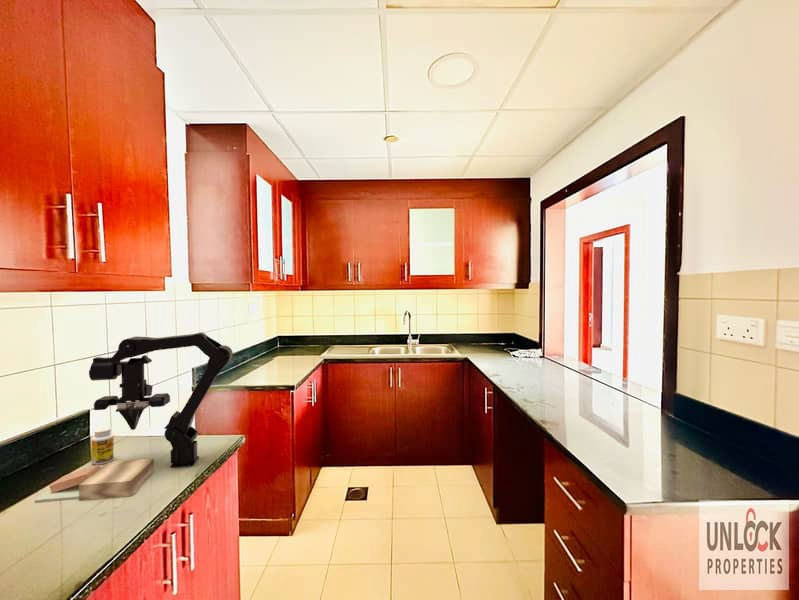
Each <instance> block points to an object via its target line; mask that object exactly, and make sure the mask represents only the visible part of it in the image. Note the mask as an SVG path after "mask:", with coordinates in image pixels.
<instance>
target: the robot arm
mask: <svg viewBox="0 0 799 600" xmlns="http://www.w3.org/2000/svg"><path fill="white" fill-rule="evenodd" d="M188 347H196V348H198V349H199V350H200V351H201V352H202V353H203V354H204V355H206V356H207V357H208V360H207V363H206V367H205V371H204V373H203V375H201V378H200V380H199V382H198V383H197V385H196V386H195V388H194V389H193V391H192V393H191V395H190V396H189V398H188V400H187V402H186V403H185V405H184V407H183V409H181V411H180V412H179V410H176V411H175V412H174V413H173V414H172V415H171V417H169V418H170V419H169V421H168V423H167V424H166V425H165V427H164V430H165V431H164V435H163V436H164V437H165V439H166V440H167V441H168V442H169V443H170V446H171V450H170V464H171V465H170V468H172V469H173V468H183V467H194V465H195V464H196V463H197V461H198V460H199V459H200V455H199V456H198V441H197V440H195V439H197V436H198V434H199V431H198V430H197V429H196V428H195V427H193V426H192V425H193V422H194V419H195V416H196V415H195V414H196V412H197V410H198V409H199V407H200V406H201V404H202V402H203V400H204V398H205V397H206V395H207V394H208V392H209V390H210V388H211V386H212V385H213V383H214V381H215V379H216V378H217V376H218V374H220V372H222V370H223V369H224V368H225V367H226V366H227V364H228V363H229V362H230V361H231V359H232V358H233V354H234V352H233V350H232V349H231V347H230V346H228V345H225V344H224V345H223V344H221V343H220V342H218V341H217V340H215V339H212V338H211V337H210V336H208V335H207V333H205V332H198V333H189V334H181V335H172V336H165V337H164V336H163V337H151V336H133V337H129V338H126V339H122V340H121V341H120V343H119V344H118V349H117V350H116V352H115V353H114V354H113V355H112V356H111V357H101V356H98V357H94V358H93V359H92V363H91V365H90V368H89V370H88V375H89V378H90V380H91V381H112V380H116V379H117V378H118V377H119V376H120V377H121V383H119V388H121V397H119V396H118V395H105V396H101V397H100V398H97V399H96V400H95V401H94V403H93V410H94V411H104V410H106V409H108V408H109V406H110V407H111V406H116V407H117V408H116V409H115V412H116V413H118V412H119V414H120V415H121V416H122V418H123V419H124V420H125V422H126V424H127V425H128V427H129V429H130V430H132V431H135V430H136V429H137V426H138V424H139V421H140V419H141V416H142V413H143V412H144V410H145V409H147V408H148V407H151V408H160V407H164V406H166V405H167V404H168V403H171V396H170V394H169V393H168V392H165V393H155V394H152V393H153V385H151V384H148V383H147V379H146V378H145V365H146V364H150V363H152V362H153V359H151V358H149V357H148V356H147V355H146V354H149V353H152V352H154V351H163V350H172V349H180V348H188ZM141 355H142V356H141ZM137 356H141V357H137ZM135 357H136V358H135ZM128 358H129V360H126V359H128ZM124 360H126V361H124Z"/></svg>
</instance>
